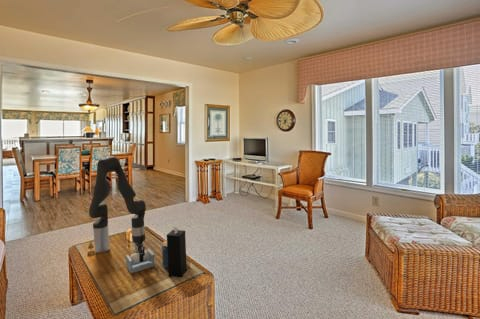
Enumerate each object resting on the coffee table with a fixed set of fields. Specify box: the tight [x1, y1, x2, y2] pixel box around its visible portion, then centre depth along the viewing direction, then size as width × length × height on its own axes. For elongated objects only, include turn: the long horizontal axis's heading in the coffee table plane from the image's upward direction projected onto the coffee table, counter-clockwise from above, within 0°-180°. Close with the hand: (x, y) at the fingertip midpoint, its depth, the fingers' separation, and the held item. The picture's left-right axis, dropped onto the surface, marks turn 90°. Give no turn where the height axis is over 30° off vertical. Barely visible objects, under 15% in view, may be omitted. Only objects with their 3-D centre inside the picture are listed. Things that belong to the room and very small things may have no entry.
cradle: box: [125, 248, 155, 274], centre depth 160 cm, size 10×14×8 cm
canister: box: [161, 239, 168, 270], centre depth 161 cm, size 13×13×18 cm
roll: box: [130, 249, 149, 264], centre depth 160 cm, size 9×6×6 cm
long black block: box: [166, 226, 188, 278], centre depth 150 cm, size 8×8×28 cm
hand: (140, 259), depth 160 cm, fingers closed on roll, 5 cm apart
